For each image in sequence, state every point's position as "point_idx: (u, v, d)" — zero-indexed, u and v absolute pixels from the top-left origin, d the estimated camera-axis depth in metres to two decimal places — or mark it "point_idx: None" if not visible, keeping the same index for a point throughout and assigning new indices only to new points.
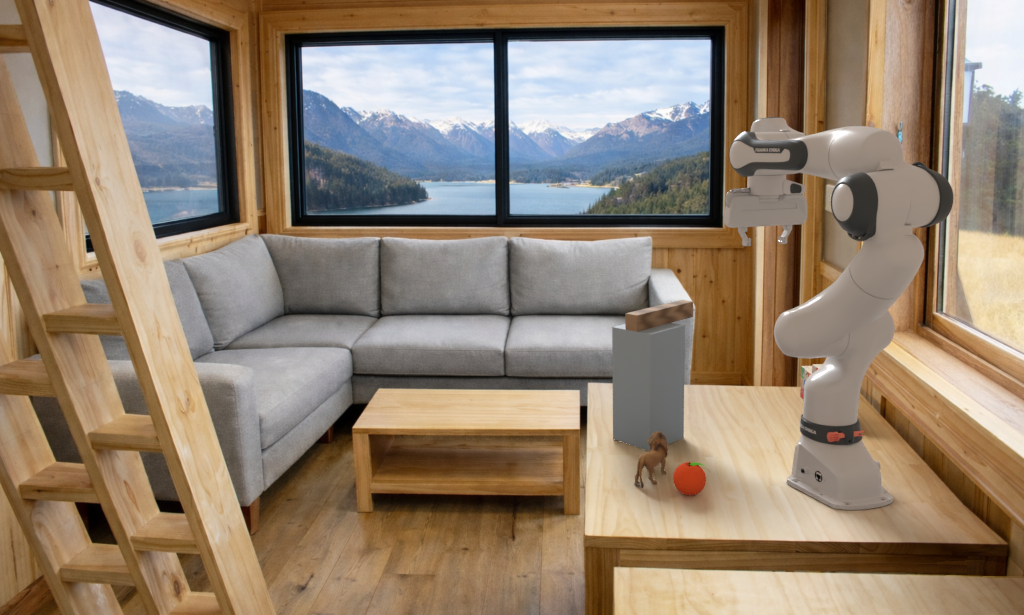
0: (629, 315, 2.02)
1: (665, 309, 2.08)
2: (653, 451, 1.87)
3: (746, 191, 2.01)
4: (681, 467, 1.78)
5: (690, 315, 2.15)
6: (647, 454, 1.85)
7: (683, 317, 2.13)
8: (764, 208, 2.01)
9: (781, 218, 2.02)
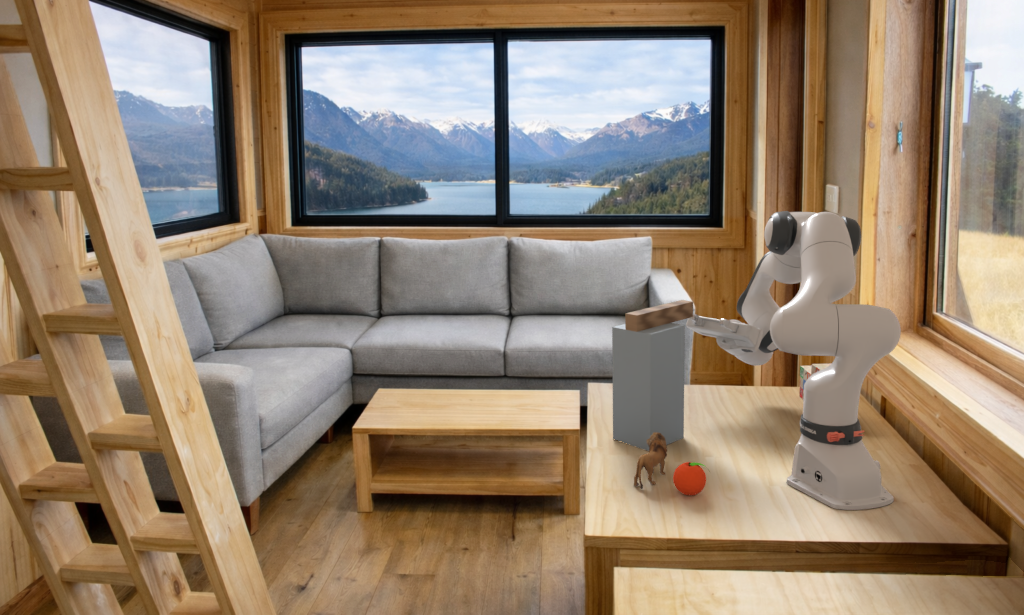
0: (629, 315, 2.02)
1: (665, 309, 2.08)
2: (652, 452, 1.87)
3: None
4: (681, 467, 1.78)
5: (690, 315, 2.15)
6: (646, 455, 1.84)
7: (683, 317, 2.13)
8: None
9: None
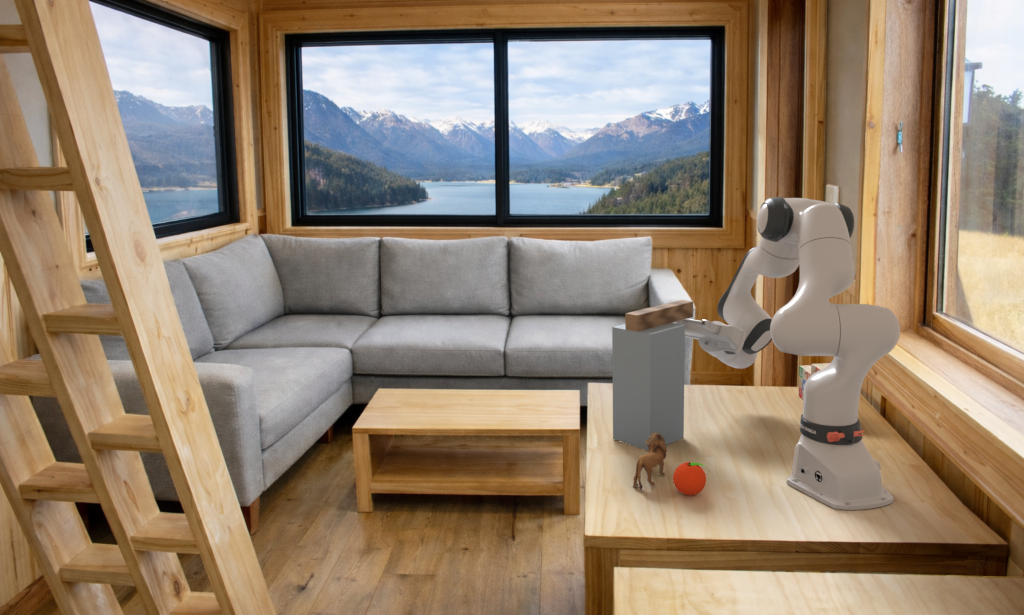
0: (629, 315, 2.02)
1: (665, 309, 2.08)
2: (652, 453, 1.86)
3: None
4: (681, 467, 1.78)
5: (690, 315, 2.15)
6: (646, 456, 1.84)
7: (683, 317, 2.13)
8: None
9: None
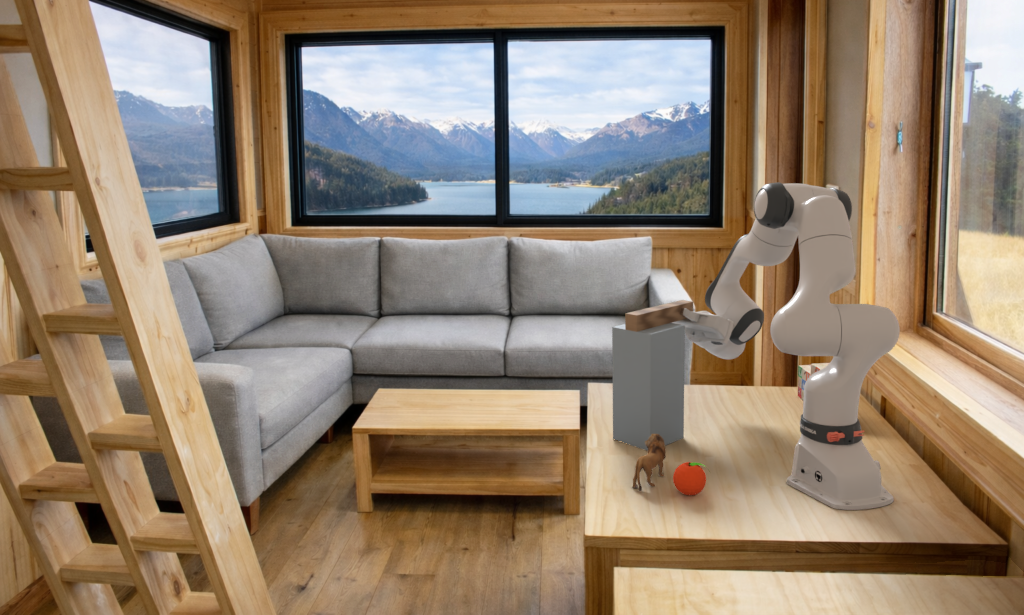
0: (629, 315, 2.02)
1: (665, 309, 2.08)
2: (651, 453, 1.86)
3: None
4: (681, 467, 1.78)
5: None
6: (645, 457, 1.83)
7: (683, 317, 2.13)
8: None
9: None
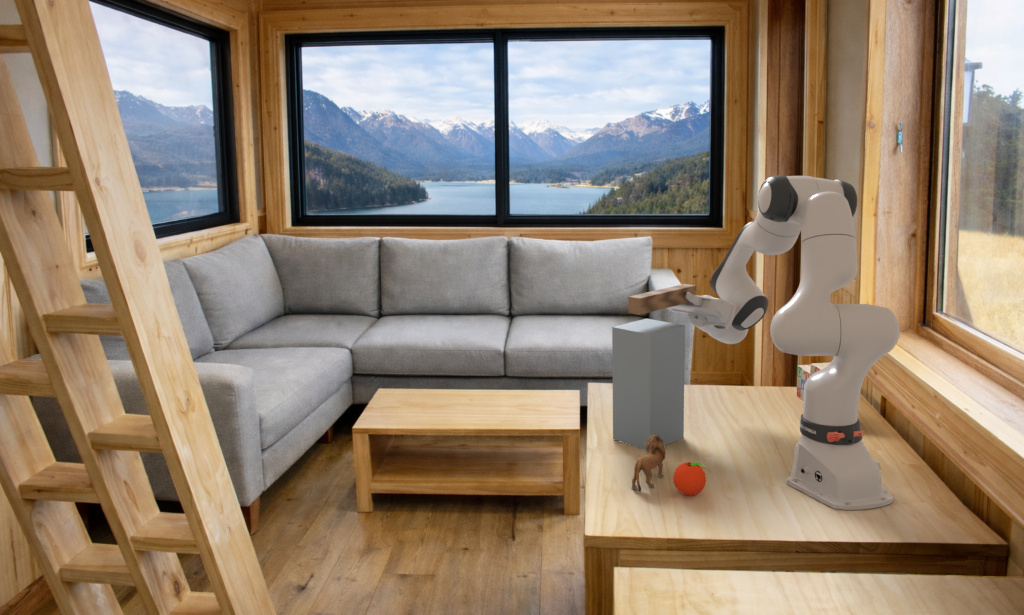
0: (632, 298, 2.02)
1: (668, 292, 2.08)
2: (650, 454, 1.85)
3: None
4: (681, 467, 1.78)
5: None
6: (644, 457, 1.83)
7: (686, 301, 2.13)
8: None
9: None
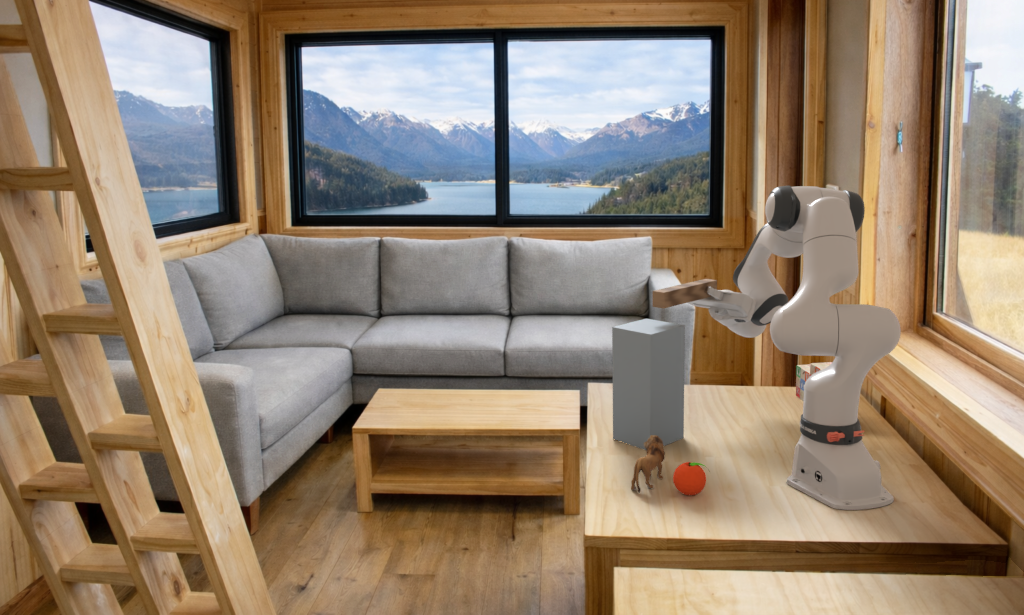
0: (656, 292, 2.08)
1: (690, 287, 2.13)
2: (650, 455, 1.85)
3: None
4: (681, 467, 1.78)
5: None
6: (644, 458, 1.82)
7: (707, 295, 2.19)
8: None
9: None
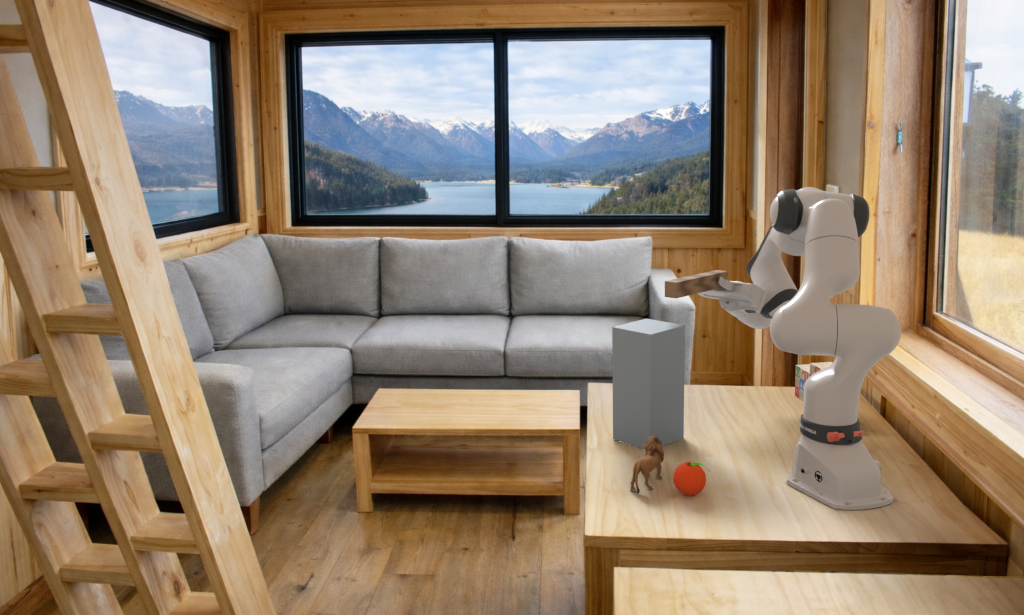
0: (668, 283, 2.11)
1: (702, 277, 2.16)
2: (649, 456, 1.84)
3: None
4: (681, 467, 1.78)
5: None
6: (643, 459, 1.82)
7: (718, 286, 2.21)
8: None
9: None
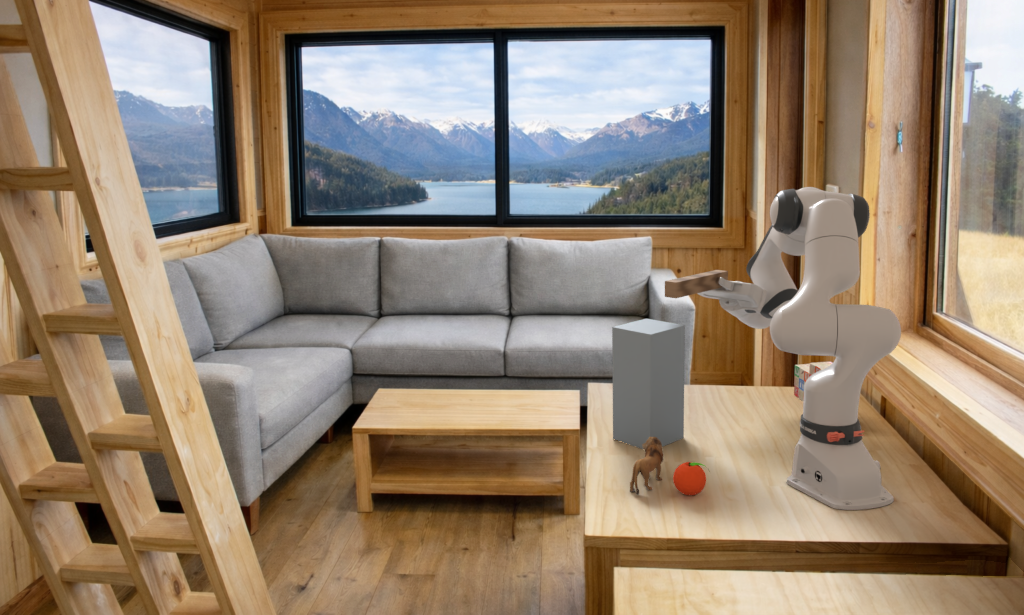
0: (668, 282, 2.11)
1: (702, 277, 2.16)
2: (648, 457, 1.84)
3: None
4: (681, 467, 1.78)
5: None
6: (642, 460, 1.81)
7: (718, 286, 2.21)
8: None
9: None
